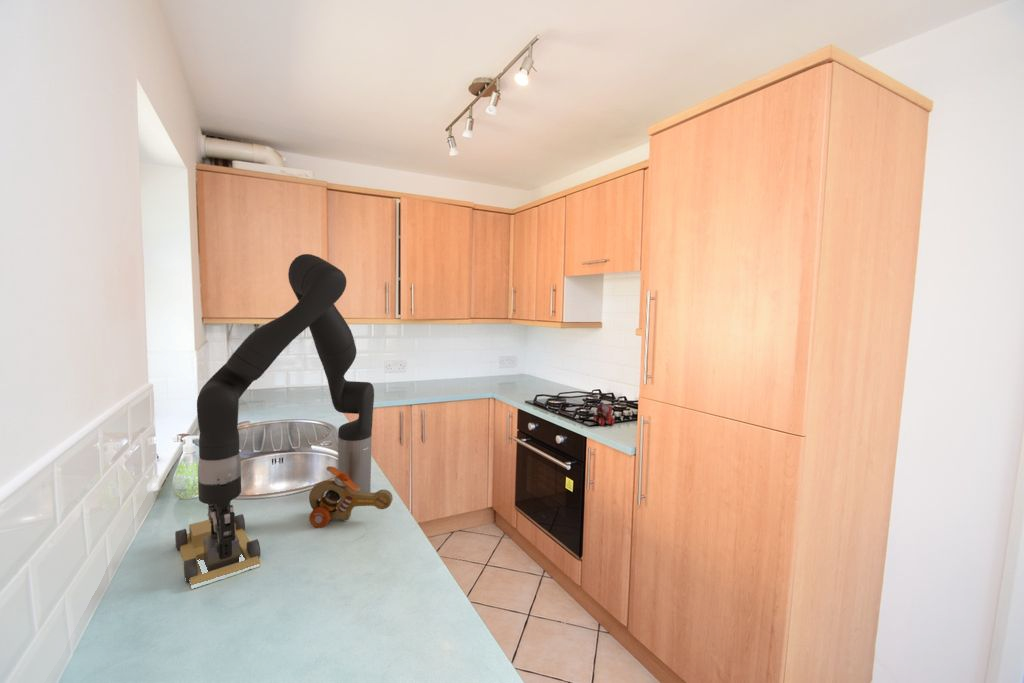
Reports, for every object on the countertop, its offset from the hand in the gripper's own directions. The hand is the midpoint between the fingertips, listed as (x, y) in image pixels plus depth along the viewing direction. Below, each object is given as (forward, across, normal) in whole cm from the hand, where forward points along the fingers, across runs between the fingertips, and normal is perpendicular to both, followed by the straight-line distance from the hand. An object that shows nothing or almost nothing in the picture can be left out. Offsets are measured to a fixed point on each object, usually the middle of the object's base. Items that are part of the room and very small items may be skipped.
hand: (221, 548), depth 94 cm
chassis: (+4, -5, 0) cm, 6 cm away
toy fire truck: (+4, -17, +162) cm, 163 cm away
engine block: (+3, 0, 0) cm, 3 cm away
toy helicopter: (+4, -2, +28) cm, 28 cm away
